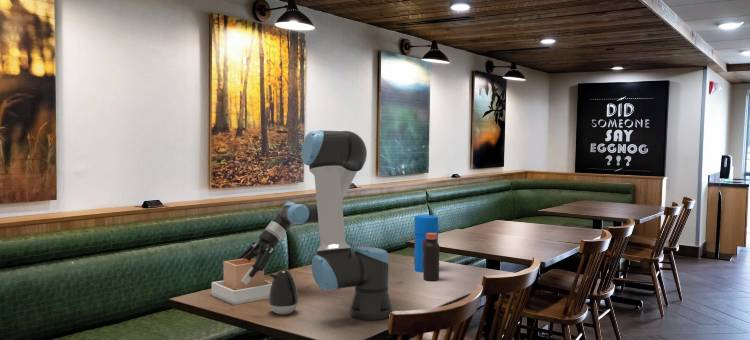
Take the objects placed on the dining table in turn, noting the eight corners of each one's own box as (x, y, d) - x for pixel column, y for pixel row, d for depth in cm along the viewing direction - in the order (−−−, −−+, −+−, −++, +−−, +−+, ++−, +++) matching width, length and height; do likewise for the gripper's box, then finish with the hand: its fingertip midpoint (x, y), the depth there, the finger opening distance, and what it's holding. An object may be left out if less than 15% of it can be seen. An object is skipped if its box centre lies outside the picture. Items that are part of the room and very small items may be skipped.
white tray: (276, 296, 229) (276, 283, 229) (233, 305, 218) (233, 291, 217) (252, 287, 243) (252, 275, 243) (211, 295, 231) (211, 282, 231)
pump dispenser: (263, 311, 210) (263, 268, 209) (289, 306, 216) (289, 265, 215) (276, 318, 202) (275, 274, 201) (303, 313, 208) (303, 270, 207)
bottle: (431, 282, 253) (431, 235, 252) (420, 279, 258) (420, 233, 257) (442, 279, 258) (442, 233, 257) (430, 276, 263) (431, 231, 262)
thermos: (442, 270, 276) (442, 216, 275) (428, 273, 269) (428, 218, 267) (423, 266, 284) (424, 214, 282) (409, 270, 276) (409, 216, 275)
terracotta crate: (264, 289, 230) (264, 261, 230) (236, 294, 222) (235, 265, 222) (251, 284, 238) (251, 257, 237) (223, 289, 230) (223, 261, 229)
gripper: (293, 245, 231) (257, 292, 221) (263, 237, 248) (229, 280, 238) (281, 233, 227) (244, 280, 218) (251, 226, 244) (216, 269, 235)
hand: (236, 280), depth 228 cm, fingers closed on terracotta crate, 10 cm apart
